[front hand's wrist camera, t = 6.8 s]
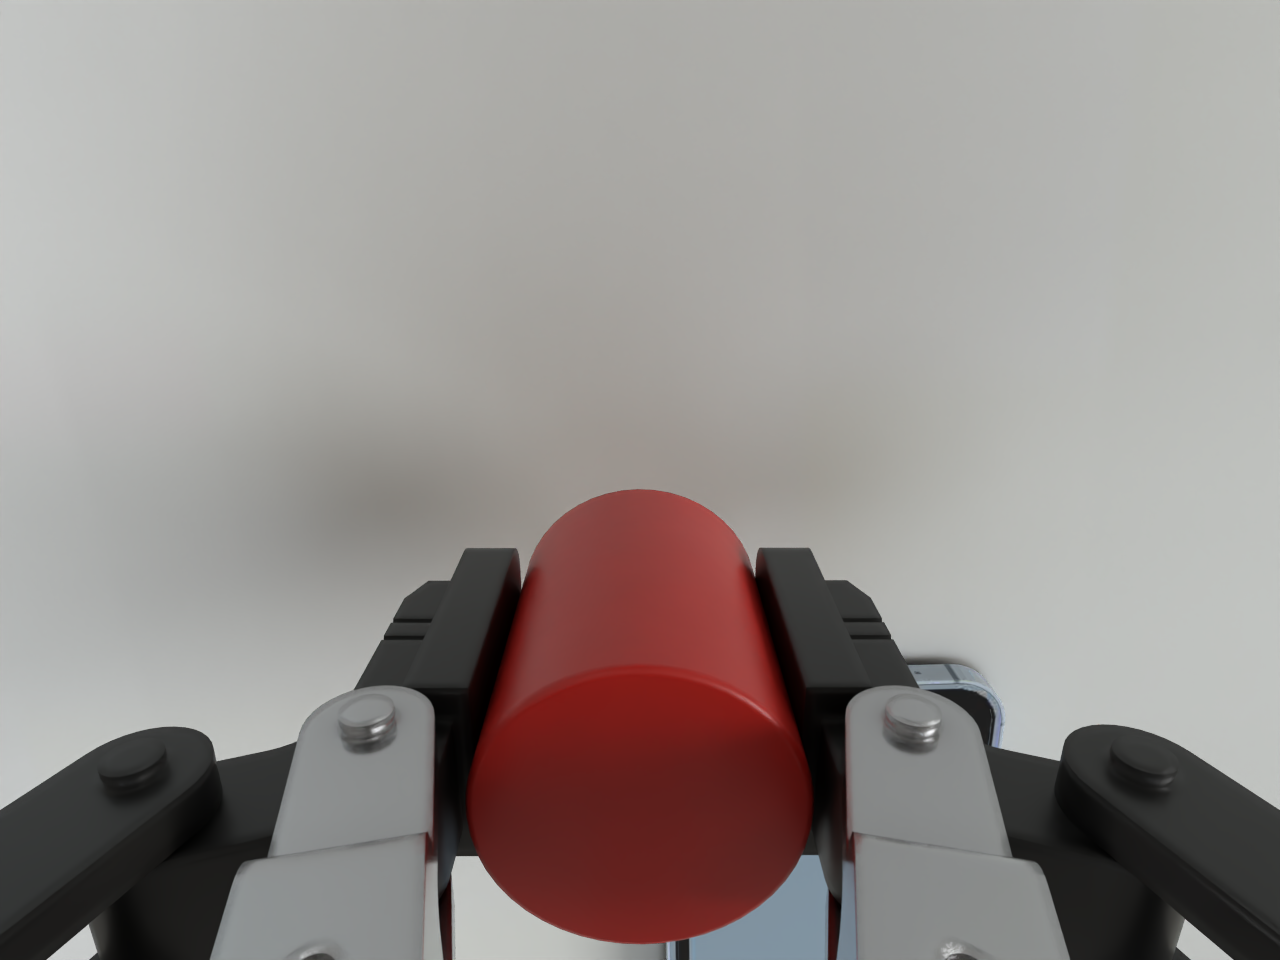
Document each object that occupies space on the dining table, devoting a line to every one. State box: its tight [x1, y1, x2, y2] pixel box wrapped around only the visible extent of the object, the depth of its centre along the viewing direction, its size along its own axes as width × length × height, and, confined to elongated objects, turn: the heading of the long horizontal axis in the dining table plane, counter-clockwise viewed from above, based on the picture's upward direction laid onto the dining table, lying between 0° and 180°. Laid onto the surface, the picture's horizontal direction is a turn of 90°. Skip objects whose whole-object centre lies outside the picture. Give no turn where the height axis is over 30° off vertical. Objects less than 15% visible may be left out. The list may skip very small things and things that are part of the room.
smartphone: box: [666, 664, 1005, 960], centre depth 20 cm, size 7×1×15 cm
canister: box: [465, 489, 814, 944], centre depth 10 cm, size 4×4×5 cm
